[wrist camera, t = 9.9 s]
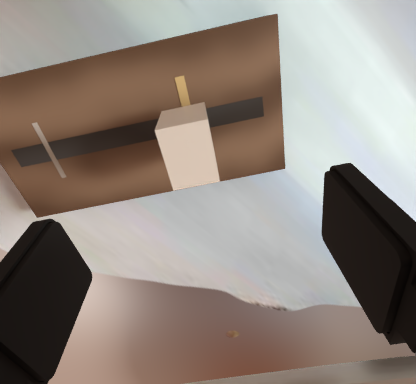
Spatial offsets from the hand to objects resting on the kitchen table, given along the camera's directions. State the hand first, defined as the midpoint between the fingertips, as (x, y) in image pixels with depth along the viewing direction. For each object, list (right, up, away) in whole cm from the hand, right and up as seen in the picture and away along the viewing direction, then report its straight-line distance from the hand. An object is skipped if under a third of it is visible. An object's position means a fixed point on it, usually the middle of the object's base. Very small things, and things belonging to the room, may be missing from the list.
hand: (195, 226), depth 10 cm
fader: (-1, +7, +12) cm, 14 cm away
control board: (-6, +8, +15) cm, 18 cm away
